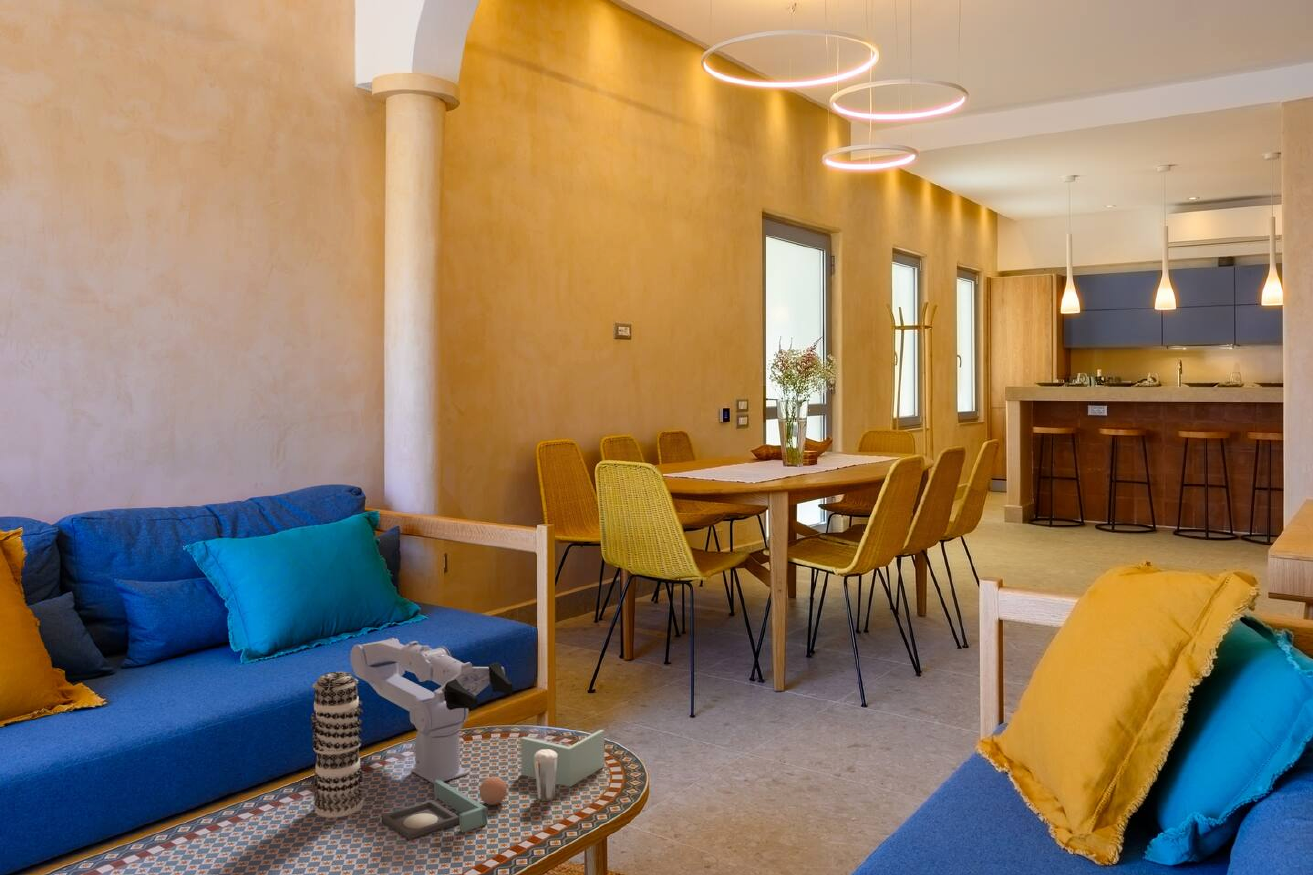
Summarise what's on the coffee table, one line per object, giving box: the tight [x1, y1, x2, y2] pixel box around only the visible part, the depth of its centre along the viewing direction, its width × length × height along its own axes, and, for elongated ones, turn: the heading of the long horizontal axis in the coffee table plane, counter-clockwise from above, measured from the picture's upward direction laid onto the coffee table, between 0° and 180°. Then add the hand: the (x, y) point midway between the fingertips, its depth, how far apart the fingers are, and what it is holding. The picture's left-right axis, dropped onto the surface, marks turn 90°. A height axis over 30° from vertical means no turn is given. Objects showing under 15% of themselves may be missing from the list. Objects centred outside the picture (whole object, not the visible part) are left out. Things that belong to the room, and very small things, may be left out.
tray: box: [381, 799, 460, 842], centre depth 177 cm, size 10×10×1 cm
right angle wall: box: [520, 729, 606, 787], centre depth 201 cm, size 12×12×8 cm
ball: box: [479, 776, 508, 806], centre depth 185 cm, size 5×5×5 cm
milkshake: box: [534, 747, 562, 802], centre depth 187 cm, size 5×5×10 cm
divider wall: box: [433, 779, 488, 834], centre depth 181 cm, size 17×5×3 cm, turn 42°
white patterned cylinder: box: [310, 671, 364, 819], centre depth 183 cm, size 9×9×25 cm
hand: (493, 696), depth 184 cm, fingers open, 7 cm apart
